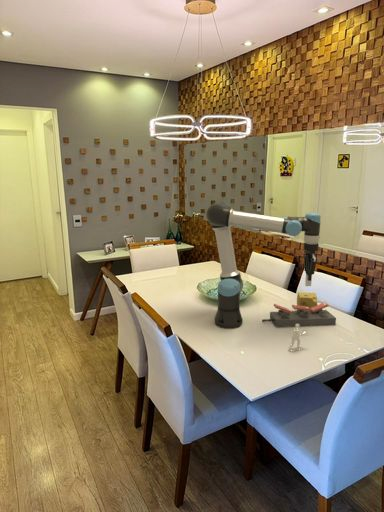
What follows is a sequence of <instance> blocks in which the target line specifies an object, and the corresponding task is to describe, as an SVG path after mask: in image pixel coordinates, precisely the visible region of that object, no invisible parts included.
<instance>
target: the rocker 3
mask: <svg viewBox="0 0 384 512" xmlns="http://www.w3.org/2000/svg"><path fill="white" fill-rule="evenodd" d="M328 307H329V304H328V303H327V302H326V301H324V302H322V303H319V304H317V306H314V307H312V308H310V310H311V311H312V312H316V311H318V310H320V311H322V310H324V309H325V308H328Z"/></svg>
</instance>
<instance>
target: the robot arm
mask: <svg viewBox="0 0 384 512" xmlns="http://www.w3.org/2000/svg"><path fill="white" fill-rule="evenodd" d="M205 216H206V220H207V221H208V223H210V227H211V229H212V230H213V231H214V234H215V239H216V245H217V251H218V257H219V258H218V259H219V263H220V268H221V273H220V274H219V279H220V280H219V282H218V283H217V311H216V313H215V315H214V316H215V317H214V325H215V326H217V327H218V328H222V329H229V330H230V329H237V328H240V327H242V325H244V323H243V317H242V313H241V310H240V306H241V302H240V301H241V300H240V298H241V294H242V290H243V289H244V282H243V279H242V276H241V271H240V270H238V268H237V262H236V257H235V256H236V255H235V250H234V244H233V237H232V231H231V228H232V227H233V226H234V227H238V228H240V227H241V228H247V229H251V230H252V229H253V230H260V231H265V232H273V233H280V234H284V235H289V236H291V237H297V236H298V235H300V234H301V233H302V232H304V233H303V251H305V253H303V268H304V273H305V280H304V281H305V284H304V286H305V287H311V286H312V282H313V281H312V279H313V278H312V277H313V275H315V271H316V265H317V262H318V257H316V252H317V251H319V245H320V238H321V237H320V233H321V215H320V214H319V213H318V212H317V213H316V212H310V213H309V212H307V213H305V215H304V216H283V217H278V216H277V217H276V216H272V215H263V214H258V213H252V212H251V213H250V212H245V211H239V210H234V209H233V208H232V207H230V205H229V204H228V203H226V202H223V201H218V202H214V203H213V204H211V205H209V206H208V208H207V209H206V212H205Z"/></svg>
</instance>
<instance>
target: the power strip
mask: <svg viewBox="0 0 384 512" xmlns="http://www.w3.org/2000/svg"><path fill="white" fill-rule="evenodd" d="M277 310H278V311H270V312H269V318H268V319H267V318H266V319H261V322H262V323H267V322H270V323H271V322H272V324H273V325H274V326H275V328H296V326H295V325H296V324H299V325H300V326H299V328H302V327H323V326H324V327H325V326H336V324H337V323H336V321H337V318H336V317H335V316H334V315H333V314H332V313H331V312H330V311H329V310H327V309H322V311H320V310H318V311H316V312H312V311H311V310H310V311H301V310H297V309H296V310H290V311H291V313H288V312H285V311H284V312H282V311H281V310H280V309H277Z"/></svg>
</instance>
